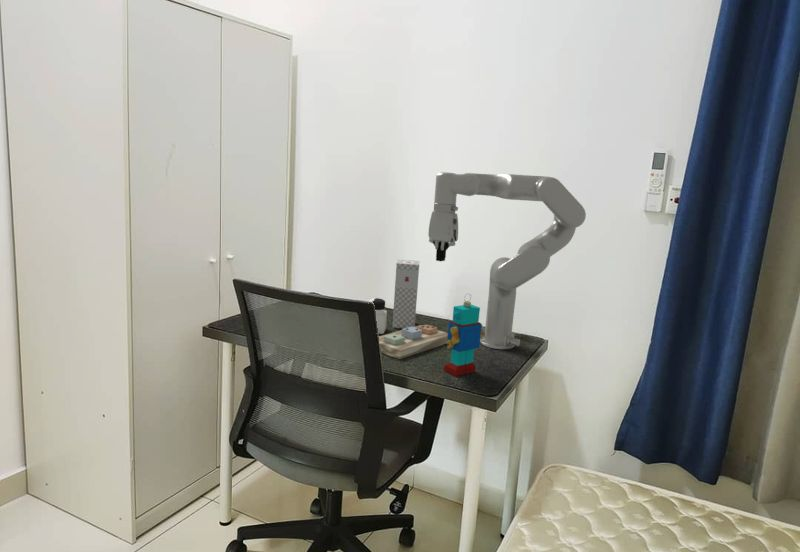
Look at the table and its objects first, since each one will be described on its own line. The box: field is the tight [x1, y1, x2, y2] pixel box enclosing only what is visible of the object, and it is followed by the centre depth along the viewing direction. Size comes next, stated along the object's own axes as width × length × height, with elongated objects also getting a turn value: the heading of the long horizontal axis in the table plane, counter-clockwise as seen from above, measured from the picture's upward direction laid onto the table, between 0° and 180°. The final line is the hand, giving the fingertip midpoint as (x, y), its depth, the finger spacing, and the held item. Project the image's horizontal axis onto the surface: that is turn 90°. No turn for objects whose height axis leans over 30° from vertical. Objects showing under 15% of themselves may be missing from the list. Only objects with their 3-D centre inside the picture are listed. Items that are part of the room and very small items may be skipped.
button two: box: [401, 327, 422, 340], centre depth 196 cm, size 5×5×3 cm
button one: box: [384, 334, 405, 346], centre depth 189 cm, size 5×5×3 cm
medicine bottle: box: [368, 297, 388, 335], centre depth 209 cm, size 7×7×12 cm
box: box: [392, 259, 420, 329], centre depth 217 cm, size 8×8×25 cm
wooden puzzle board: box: [378, 324, 448, 360], centre depth 196 cm, size 14×28×3 cm, turn 139°
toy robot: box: [443, 293, 484, 377], centre depth 172 cm, size 12×6×25 cm, turn 127°
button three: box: [418, 324, 438, 335], centre depth 203 cm, size 5×5×3 cm
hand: (440, 260), depth 199 cm, fingers closed
